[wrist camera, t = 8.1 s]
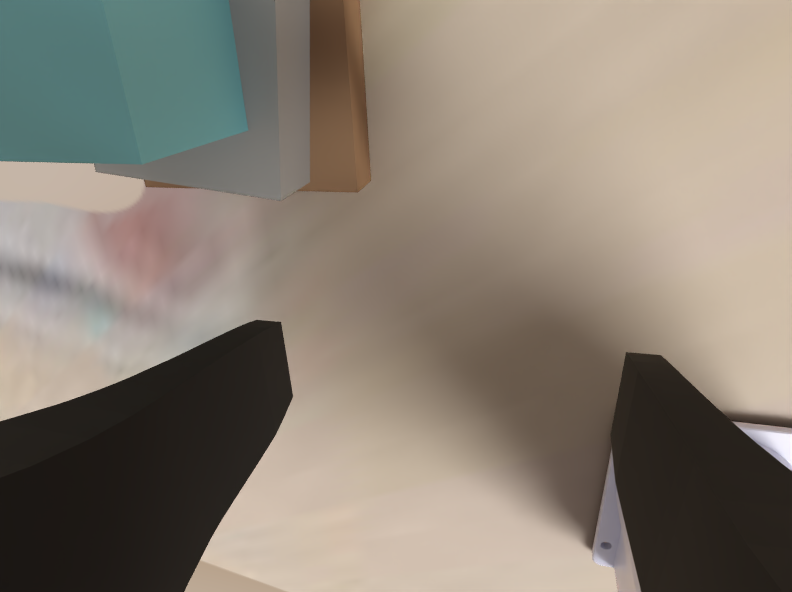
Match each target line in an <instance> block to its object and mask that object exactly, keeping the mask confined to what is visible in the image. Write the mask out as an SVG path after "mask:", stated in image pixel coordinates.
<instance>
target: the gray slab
mask: <svg viewBox="0 0 792 592" xmlns="http://www.w3.org/2000/svg"><path fill="white" fill-rule="evenodd" d="M229 6H230V12H231V19H232V25H233V32H234V38H235V45H236V52H237V58H238V65H239V72H240V78H241V85H242V92H243V98H244V105H245V112H246V118H247V125H248V131H245V132H242V133H239V134H236V135H232V136H229V137H226V138H223V139H220V140H217V141H214V142H211V143H208V144H205V145H201V146H198V147H195V148H192V149H189V150H186V151H183V152H180V153H177V154H173V155H170V156H167V157H164V158H161V159H158V160H155V161H152V162H149V163H145V164H142V165H141V164H100V163H94V165H95V170H96V172H100V173H106V174H112V175H119V176H125V177H132V178H138V179H144V180H150V181H157V182H163V183H169V184H176V185H182V186H188V187H195V188H201V189H207V190H214V191H220V192H227V193H233V194H239V195H246V196H252V197H258V198H265V199H271V200H277V201H282V200H283V199H285V198H286V197H288V196H289V195H291V194H292V193H294V192H295V191H297V190H299V189H300V188H302V187H303V186H305V185H306V184H308V183H309V182H310V0H229Z"/></svg>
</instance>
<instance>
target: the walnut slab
mask: <svg viewBox="0 0 792 592" xmlns="http://www.w3.org/2000/svg"><path fill="white" fill-rule="evenodd" d="M144 181H145V185H146V187H165V188H195V187H188V186H182V185H176V184H169V183H163V182H157V181H150V180H144ZM370 181H371V173H370V157H369V141H368V125H367V109H366V93H365V77H364V61H363V45H362V29H361V13H360V0H310V182H309V183H308V184H306V185H305V186H303V187H302V188H300V189H299V190H297V191H326V192H359V191H360V190H361V189H362V188H363V187H364V186H365V185H366V184H368V183H369V182H370Z"/></svg>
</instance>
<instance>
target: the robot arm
mask: <svg viewBox="0 0 792 592" xmlns="http://www.w3.org/2000/svg"><path fill="white" fill-rule="evenodd" d="M292 397H293V394H292V387H291V381H290V375H289V369H288V362H287V356H286V350H285V344H284V338H283V331H282V325H281V322H274V321H262V320H255V321H252V322H249V323H247V324H244V325H242V326H239V327H237V328H235V329H233V330H230V331H228V332H226V333H224V334H222V335H220V336H218V337H216V338H214V339H212V340H210V341H207V342H205V343H203V344H201V345H199V346H197V347H195V348H193V349H191V350H189V351H187V352H185V353H183V354H181V355H178V356H176V357H174V358H172V359H170V360H168V361H165V362H163V363H161V364H159V365H157V366H154V367H152V368H150V369H148V370H145V371H143V372H141V373H139V374H136V375H134V376H132V377H130V378H127V379H125V380H123V381H120V382H118V383H115V384H113V385H110V386H108V387H105V388H102V389H100V390H97V391H94V392H92V393H89V394H86V395H83V396H81V397H78V398H75V399H72V400H69V401H66V402H63V403H60V404H57V405H54V406H51V407H47V408H44V409H41V410H37V411H34V412H31V413H27V414H24V415H21V416H17V417H14V418H11V419H7V420H4V421H0V592H184V591H185V589H186V586H187V585H188V582H189V580H190V578H191V576H192V575H193V573H194V571H195V568H196V567H197V565H198V563H199V561H200V559H201V557H202V555H203V553H204V551H205V549H206V547H207V545H208V543H209V541H210V539H211V537H212V535H213V534H214V532H215V530H216V529H217V527H218V525H219V523H220V522H221V520H222V518H223V517H224V515H225V514H226V512H227V511H228V509H229V507H230V506H231V504H232V503H233V501H234V500H235V498H236V497H237V495H238V493H239V492H240V490H241V489H242V487H243V486H244V484H245V483H246V481H247V479H248V478H249V476H250V475H251V473H252V472H253V470H254V469H255V467H256V465H257V464H258V462H259V461H260V459H261V458H262V456H263V454H264V453H265V451H266V450H267V448H268V446H269V445H270V443H271V442H272V440H273V438H274V437H275V435H276V433H277V431H278V429H279V427H280V425H281V423H282V420H283V418H284V416H285V414H286V411H287V409H288V407H289V404H290V402H291V400H292ZM611 444H612V449H611V454H610V459H609V465H608V470H607V475H606V480H605V485H604V491H603V496H602V501H601V506H600V512H599V517H598V522H597V527H596V533H595V538H594V543H593V548H592V557H593V560H594V562H595V563H597V564H599V565H602V566H607V567H613V568H614V569H615V576H616V583H617V589H618V592H792V428H787V427H778V426H769V425H760V424H751V423H742V422H733V421H731V420H730V419H728V418H727V417H726V416H725V415H724V414H723V413H722V412H721V411H720V410H718V409H717V408H716V407H715V406H714V405H713V404H712V403H711V402H710V401H709V400H708V399H707V398H706V397H704V396H703V395H702V394H701V393H700V392H699V391H698V390H697V389H696V388H695V387H694V386H693V385H692V384H691V383H690V382H689V381H688V380H687V379H686V378H685V377H684V376H683V375H681V374H680V373H679V372H678V371H677V370H676V369H675V368H674V367H673V366H672V365H671V364H670V363H669V362H668V361H667V360H666V359H664V358H663V357H662V356H661V355H650V354H639V353H628V352H626V356H625V362H624V367H623V372H622V378H621V383H620V388H619V394H618V399H617V404H616V410H615V415H614V420H613V426H612V431H611ZM604 542H607V543H604Z"/></svg>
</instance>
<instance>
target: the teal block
mask: <svg viewBox="0 0 792 592" xmlns="http://www.w3.org/2000/svg"><path fill="white" fill-rule="evenodd" d="M245 131H248V125H247V118H246V112H245V105H244V98H243V92H242V85H241V78H240V72H239V65H238V58H237V52H236V45H235V38H234V32H233V25H232V19H231V12H230V6H229V0H0V161H17V162H18V161H19V162H59V163H100V164H141V165H142V164H145V163H149V162H152V161H155V160H158V159H161V158H164V157H167V156H170V155H173V154H177V153H180V152H183V151H186V150H189V149H192V148H195V147H198V146H201V145H205V144H208V143H211V142H214V141H217V140H220V139H223V138H226V137H229V136H232V135H236V134H239V133H242V132H245Z"/></svg>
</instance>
